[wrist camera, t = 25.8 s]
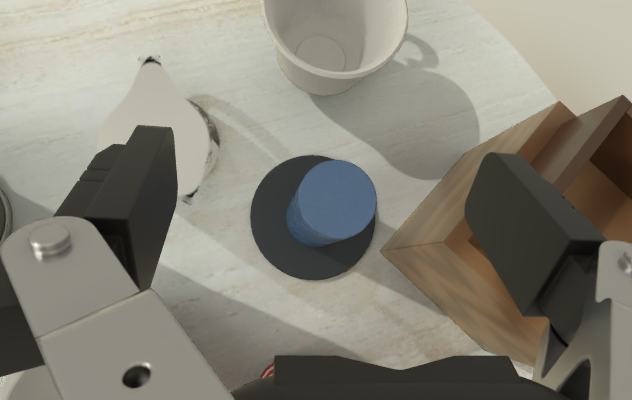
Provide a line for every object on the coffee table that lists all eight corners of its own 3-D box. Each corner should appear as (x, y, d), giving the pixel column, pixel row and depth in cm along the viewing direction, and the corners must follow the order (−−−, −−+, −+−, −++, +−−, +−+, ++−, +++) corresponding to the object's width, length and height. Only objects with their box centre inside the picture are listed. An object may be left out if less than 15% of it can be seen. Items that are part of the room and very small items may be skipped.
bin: (379, 251, 41) (484, 235, 22) (464, 153, 44) (618, 67, 25) (484, 350, 41) (676, 417, 22) (561, 244, 44) (788, 226, 25)
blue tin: (273, 218, 39) (281, 199, 29) (313, 177, 41) (335, 144, 30) (317, 259, 39) (340, 255, 29) (355, 217, 41) (392, 197, 30)
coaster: (223, 218, 39) (223, 218, 39) (310, 132, 42) (310, 130, 41) (316, 306, 39) (317, 307, 39) (397, 214, 42) (399, 214, 41)
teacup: (386, 6, 45) (423, -67, 36) (364, 134, 43) (397, 93, 33) (278, -24, 44) (285, -108, 34) (247, 106, 41) (245, 55, 31)
